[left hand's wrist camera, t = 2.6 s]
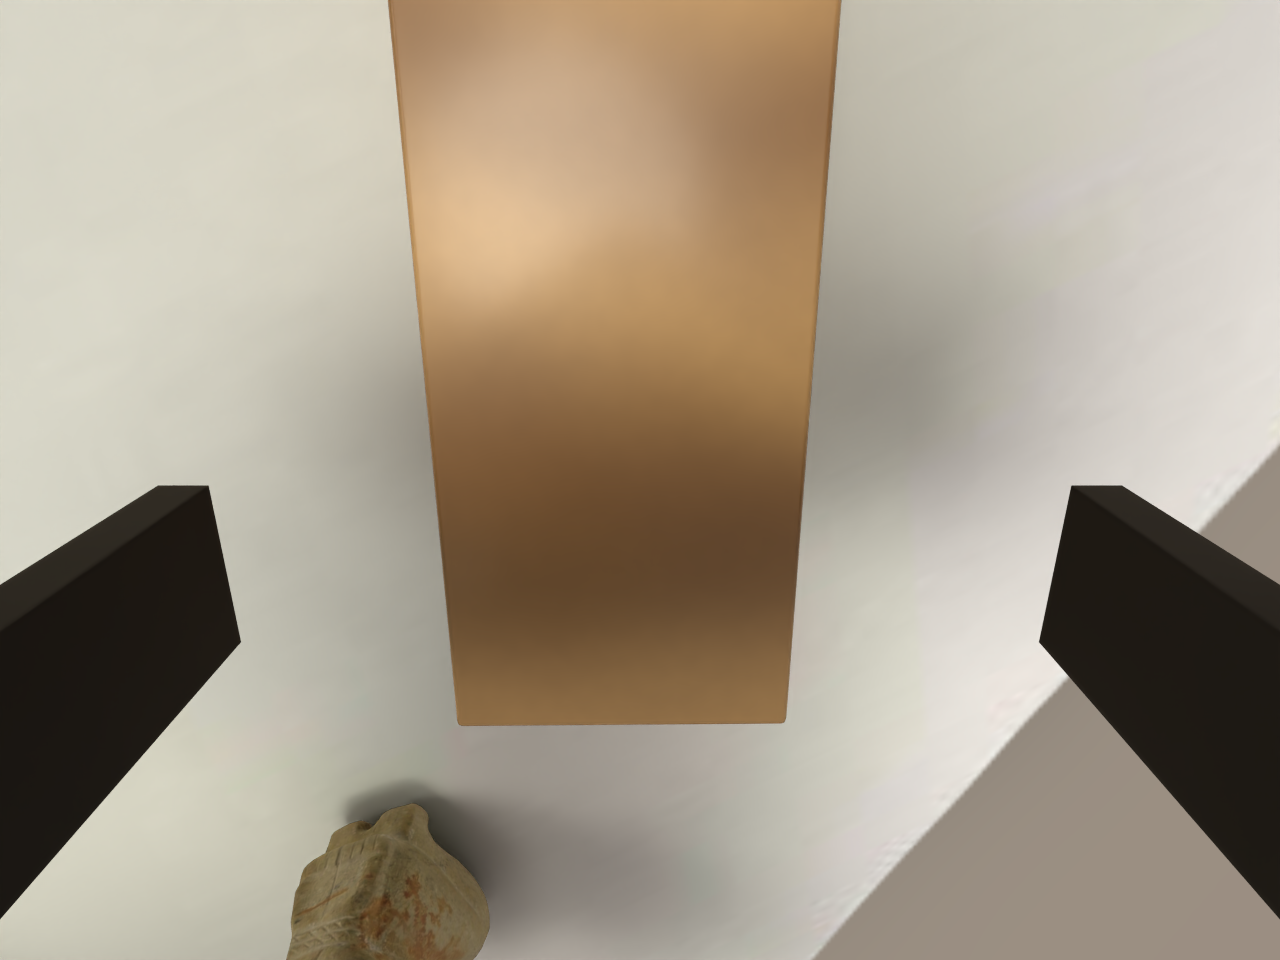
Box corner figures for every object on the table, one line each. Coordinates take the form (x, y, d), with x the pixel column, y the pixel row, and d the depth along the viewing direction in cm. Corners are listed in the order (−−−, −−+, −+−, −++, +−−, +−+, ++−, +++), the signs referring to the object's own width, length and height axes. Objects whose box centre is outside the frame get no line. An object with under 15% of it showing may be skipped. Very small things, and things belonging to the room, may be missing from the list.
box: (714, 479, 26) (787, 725, 14) (536, 479, 26) (456, 728, 14) (743, -326, 19) (937, -1216, 7) (497, -328, 19) (267, -1228, 7)
